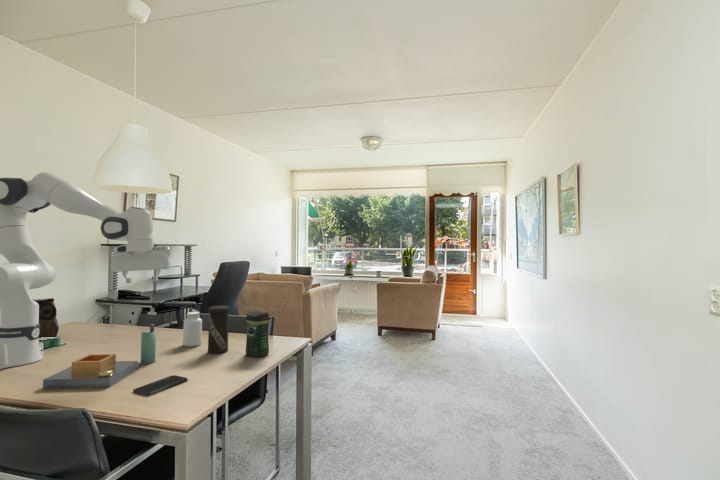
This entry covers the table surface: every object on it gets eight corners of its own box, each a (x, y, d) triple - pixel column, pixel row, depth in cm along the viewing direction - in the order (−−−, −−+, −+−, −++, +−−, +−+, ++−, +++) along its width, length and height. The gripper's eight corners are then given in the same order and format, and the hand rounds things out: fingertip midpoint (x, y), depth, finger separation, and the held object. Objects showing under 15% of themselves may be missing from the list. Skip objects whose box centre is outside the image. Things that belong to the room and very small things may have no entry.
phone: (189, 378, 124) (148, 394, 110) (189, 381, 124) (147, 397, 110) (173, 374, 127) (131, 389, 114) (173, 378, 127) (131, 393, 113)
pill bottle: (194, 347, 165) (195, 314, 165) (178, 346, 166) (179, 313, 167) (205, 343, 173) (205, 311, 173) (190, 342, 174) (191, 310, 175)
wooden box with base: (42, 389, 115) (43, 367, 115) (80, 370, 133) (80, 351, 133) (109, 387, 117) (110, 365, 117) (137, 369, 135) (138, 350, 135)
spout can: (138, 364, 140) (139, 325, 140) (144, 360, 145) (145, 323, 145) (151, 364, 141) (152, 325, 141) (157, 360, 146) (158, 323, 146)
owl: (59, 338, 177) (60, 298, 178) (24, 343, 168) (26, 300, 168) (53, 334, 185) (55, 295, 186) (20, 339, 176) (21, 298, 176)
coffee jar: (272, 354, 156) (272, 311, 157) (258, 358, 149) (259, 313, 150) (256, 350, 161) (257, 309, 162) (242, 355, 154) (243, 311, 155)
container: (202, 353, 156) (203, 307, 156) (215, 347, 165) (216, 304, 165) (220, 355, 154) (221, 308, 154) (232, 349, 163) (233, 304, 163)
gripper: (171, 246, 151) (172, 279, 151) (114, 248, 144) (115, 283, 144) (168, 246, 145) (169, 280, 145) (109, 248, 138) (110, 284, 138)
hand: (142, 281), depth 144 cm, fingers open, 8 cm apart
